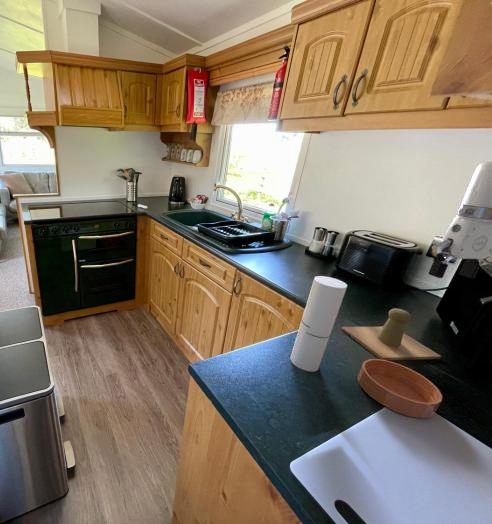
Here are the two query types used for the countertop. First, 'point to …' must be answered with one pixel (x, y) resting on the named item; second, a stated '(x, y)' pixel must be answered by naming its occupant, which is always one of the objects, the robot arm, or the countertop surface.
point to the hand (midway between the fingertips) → (450, 276)
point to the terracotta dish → (399, 388)
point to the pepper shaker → (394, 327)
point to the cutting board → (387, 352)
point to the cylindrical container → (317, 322)
